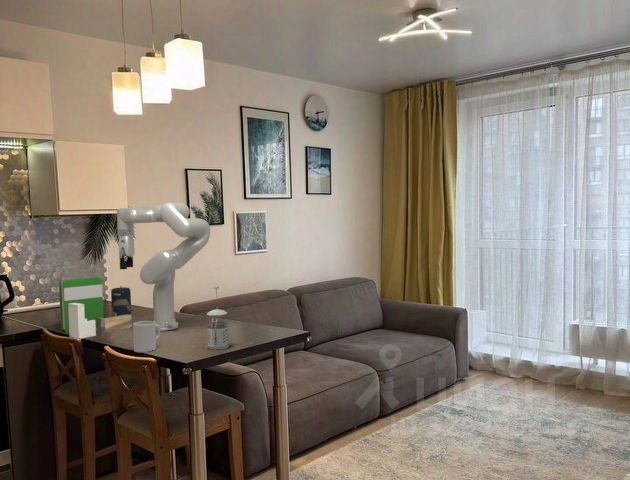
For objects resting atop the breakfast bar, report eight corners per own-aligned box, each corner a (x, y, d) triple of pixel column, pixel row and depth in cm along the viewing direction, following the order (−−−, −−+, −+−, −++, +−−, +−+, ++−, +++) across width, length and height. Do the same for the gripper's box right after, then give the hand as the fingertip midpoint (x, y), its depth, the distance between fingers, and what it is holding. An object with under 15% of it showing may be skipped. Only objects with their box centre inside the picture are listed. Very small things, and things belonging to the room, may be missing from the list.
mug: (144, 353, 211) (143, 325, 210) (129, 351, 215) (128, 323, 214) (167, 346, 221) (166, 320, 221) (152, 344, 225) (151, 318, 225)
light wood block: (131, 327, 262) (131, 312, 262) (101, 333, 249) (100, 318, 249) (127, 326, 265) (126, 311, 264) (96, 332, 252) (96, 317, 252)
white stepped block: (95, 335, 245) (94, 302, 244) (79, 339, 239) (77, 305, 238) (86, 333, 250) (85, 301, 249) (69, 336, 244) (68, 303, 243)
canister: (134, 319, 283) (133, 285, 283) (126, 322, 274) (125, 287, 273) (117, 319, 284) (116, 285, 284) (108, 322, 275) (107, 287, 274)
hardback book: (65, 332, 253) (63, 281, 252) (60, 330, 258) (58, 280, 257) (103, 327, 264) (102, 278, 263) (98, 325, 270) (96, 277, 269)
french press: (232, 344, 224) (230, 283, 223) (226, 351, 212) (225, 287, 211) (208, 344, 224) (207, 284, 223) (201, 351, 213) (200, 287, 211)
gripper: (127, 234, 257) (128, 269, 258) (138, 232, 274) (139, 266, 275) (111, 234, 257) (112, 270, 258) (123, 232, 274) (124, 266, 275)
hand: (126, 268), depth 266 cm, fingers open, 9 cm apart
